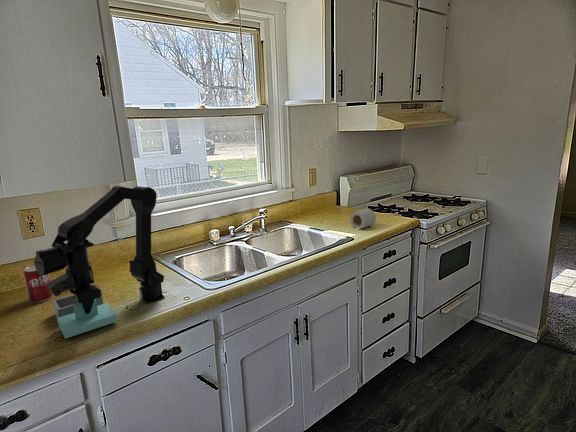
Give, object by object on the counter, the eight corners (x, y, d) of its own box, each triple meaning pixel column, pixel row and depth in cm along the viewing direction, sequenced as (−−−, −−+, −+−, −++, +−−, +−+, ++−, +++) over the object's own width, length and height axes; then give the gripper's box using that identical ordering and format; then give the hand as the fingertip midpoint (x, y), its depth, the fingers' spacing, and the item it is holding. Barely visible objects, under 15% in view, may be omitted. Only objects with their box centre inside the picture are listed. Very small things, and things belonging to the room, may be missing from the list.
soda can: (25, 300, 137) (18, 269, 135) (47, 293, 143) (41, 262, 140) (35, 305, 133) (28, 273, 131) (57, 297, 139) (50, 266, 136)
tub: (97, 301, 134) (95, 288, 133) (104, 310, 128) (102, 296, 127) (54, 314, 126) (52, 300, 125) (60, 324, 120) (57, 309, 119)
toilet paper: (364, 231, 207) (364, 213, 205) (349, 227, 214) (350, 210, 212) (375, 227, 214) (375, 209, 211) (361, 224, 221) (361, 207, 218)
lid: (108, 309, 126) (105, 290, 124) (118, 320, 118) (114, 300, 116) (58, 324, 117) (54, 304, 115) (65, 338, 109) (61, 317, 107)
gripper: (41, 262, 115) (51, 310, 119) (52, 281, 101) (63, 334, 105) (82, 253, 122) (90, 299, 126) (98, 269, 108) (106, 319, 112)
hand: (86, 312), depth 117 cm, fingers closed on lid
